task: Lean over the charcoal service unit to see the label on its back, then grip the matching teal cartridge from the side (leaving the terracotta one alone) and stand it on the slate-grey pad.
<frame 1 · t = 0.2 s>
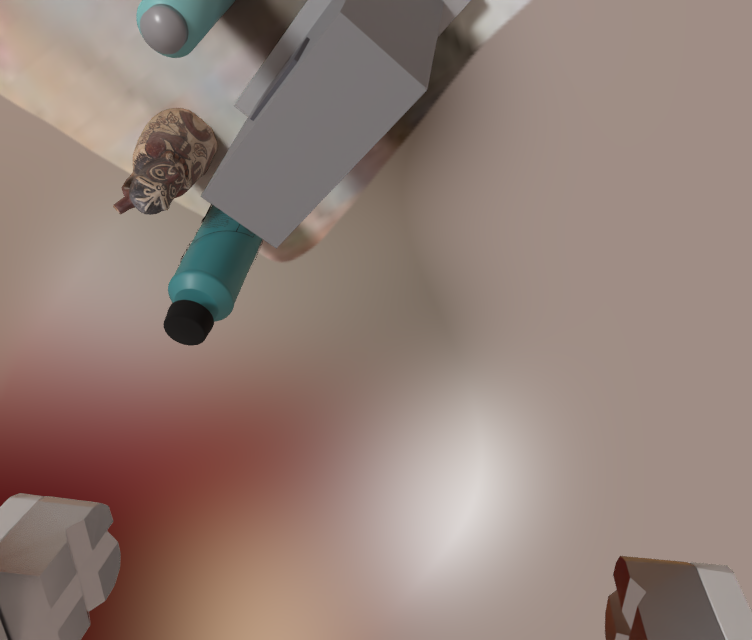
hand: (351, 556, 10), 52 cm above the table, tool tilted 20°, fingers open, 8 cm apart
figurine: (184, 139, 66), on the table
service unit: (346, 48, 57), on the table
beverage bottle: (247, 202, 70), on the table
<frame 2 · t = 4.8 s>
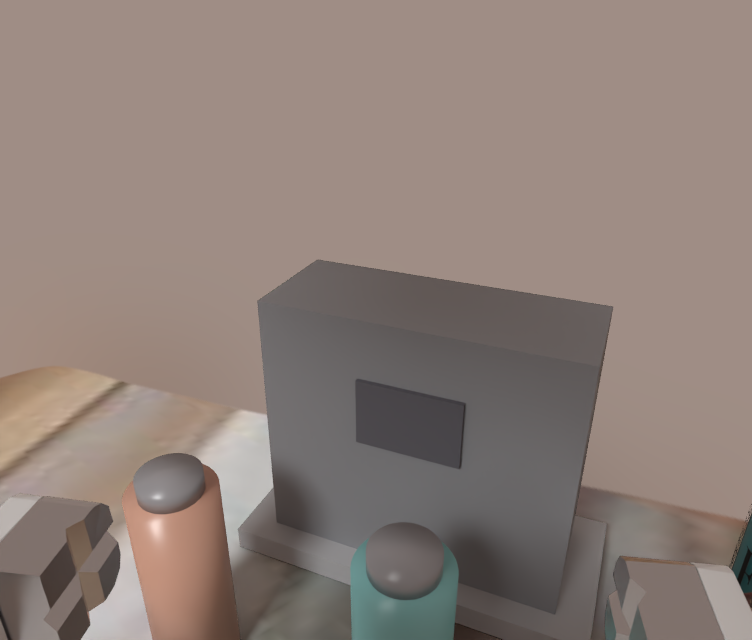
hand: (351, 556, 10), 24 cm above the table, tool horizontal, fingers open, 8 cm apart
service unit: (422, 543, 42), on the table
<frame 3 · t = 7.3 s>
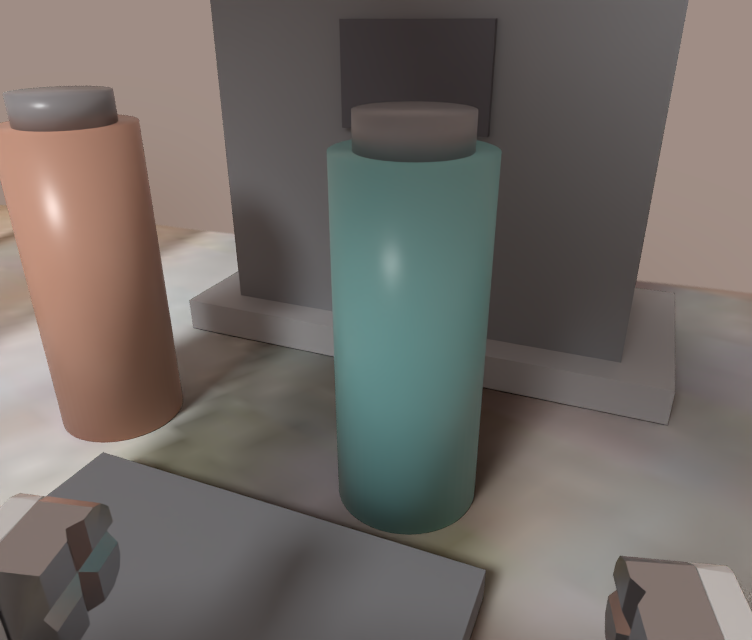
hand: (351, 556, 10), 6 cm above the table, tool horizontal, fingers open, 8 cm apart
terracotta cartridge: (124, 408, 25), on the table
service unit: (433, 323, 32), on the table
teal cartridge: (406, 484, 21), on the table
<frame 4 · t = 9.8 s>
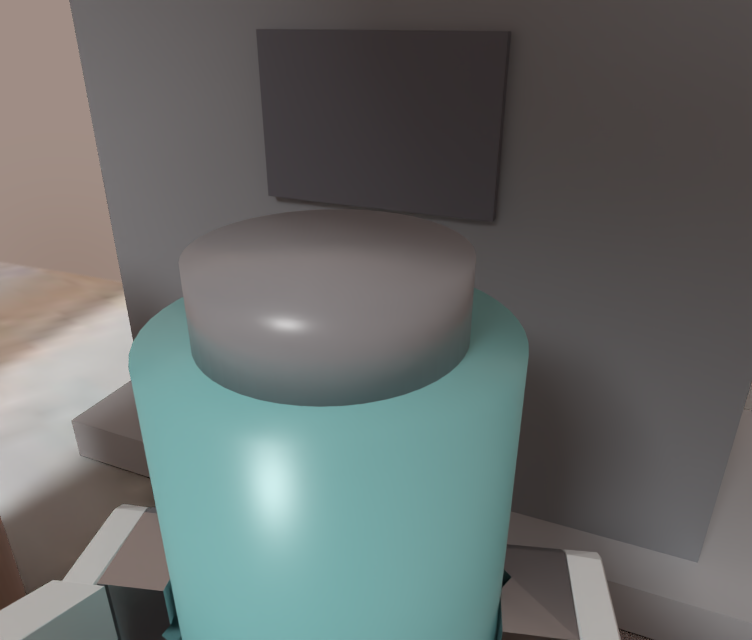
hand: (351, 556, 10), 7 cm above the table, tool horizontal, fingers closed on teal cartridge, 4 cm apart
service unit: (414, 449, 23), on the table
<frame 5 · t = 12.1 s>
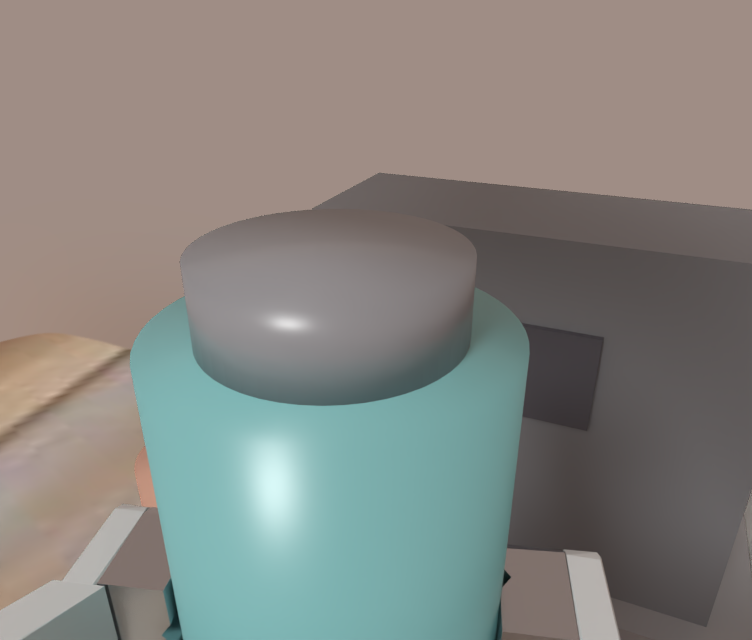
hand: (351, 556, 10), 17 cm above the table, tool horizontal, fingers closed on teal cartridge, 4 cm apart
service unit: (509, 534, 34), on the table
when the fingers open (9 cm above the table, at t = 14.6 s): teal cartridge drops 1 cm, resting on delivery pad.
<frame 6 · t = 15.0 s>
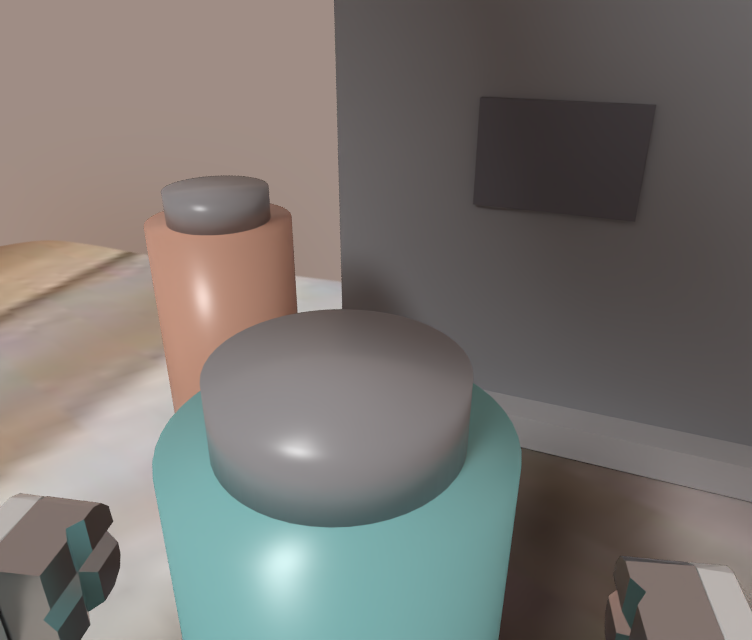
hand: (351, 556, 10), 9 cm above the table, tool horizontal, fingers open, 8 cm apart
terracotta cartridge: (250, 493, 25), on the table
service unit: (539, 389, 32), on the table
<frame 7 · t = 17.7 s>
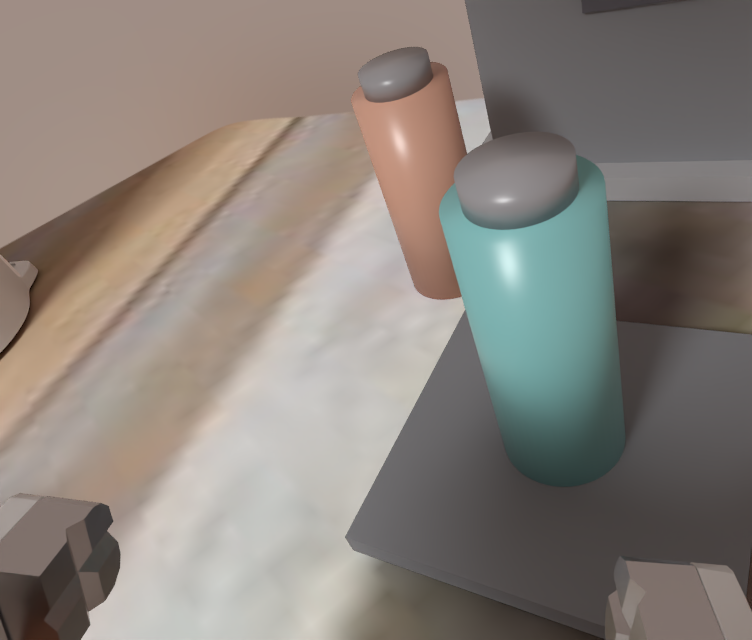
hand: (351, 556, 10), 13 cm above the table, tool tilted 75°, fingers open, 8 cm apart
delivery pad: (566, 450, 25), on the table
terracotta cartridge: (452, 272, 36), on the table
service unit: (665, 152, 38), on the table
teal cartridge: (562, 435, 24), point 1 cm above the table, touching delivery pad
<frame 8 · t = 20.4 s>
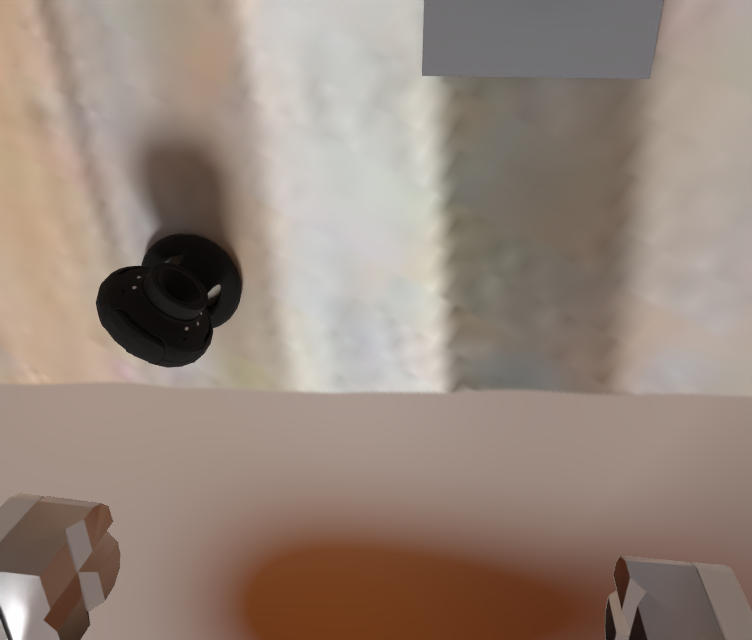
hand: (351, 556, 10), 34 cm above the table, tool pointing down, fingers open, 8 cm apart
webcam: (195, 279, 47), on the table
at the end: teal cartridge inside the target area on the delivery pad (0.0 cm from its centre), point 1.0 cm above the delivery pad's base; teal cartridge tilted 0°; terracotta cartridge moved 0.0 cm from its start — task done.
